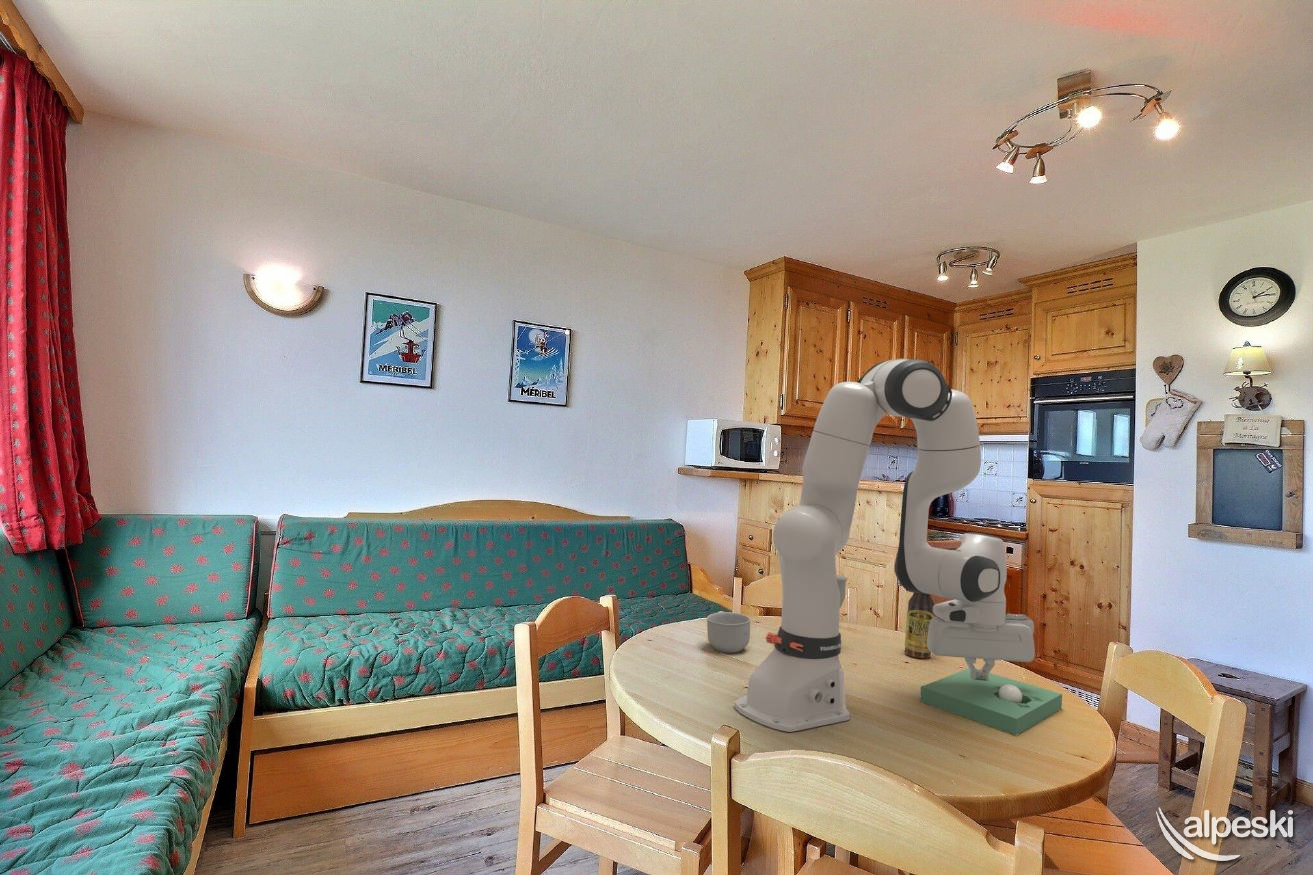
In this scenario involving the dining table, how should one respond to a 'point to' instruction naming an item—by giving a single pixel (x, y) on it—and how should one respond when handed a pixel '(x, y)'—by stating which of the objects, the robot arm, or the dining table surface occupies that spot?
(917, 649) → the sauce bottle
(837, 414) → the robot arm
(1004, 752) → the dining table surface
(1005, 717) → the putting board
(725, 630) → the teacup
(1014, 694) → the ball
